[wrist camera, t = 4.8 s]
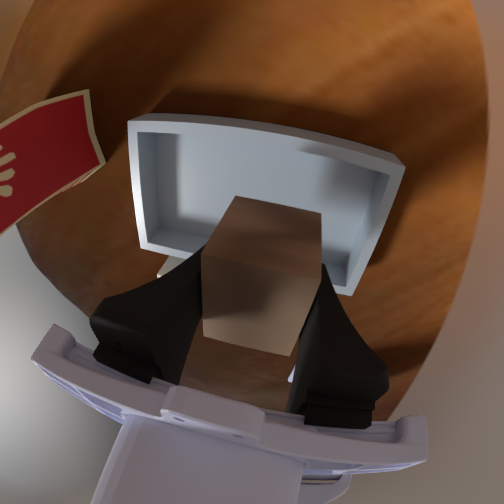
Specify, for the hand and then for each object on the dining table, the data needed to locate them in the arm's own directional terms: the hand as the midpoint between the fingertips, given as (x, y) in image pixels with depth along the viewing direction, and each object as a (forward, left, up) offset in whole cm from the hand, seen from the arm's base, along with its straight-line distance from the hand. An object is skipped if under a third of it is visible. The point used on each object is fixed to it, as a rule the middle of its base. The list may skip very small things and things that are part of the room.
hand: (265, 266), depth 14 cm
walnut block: (0, 0, -2) cm, 2 cm away
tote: (+2, 0, -8) cm, 8 cm away
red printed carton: (+21, -3, -8) cm, 23 cm away
